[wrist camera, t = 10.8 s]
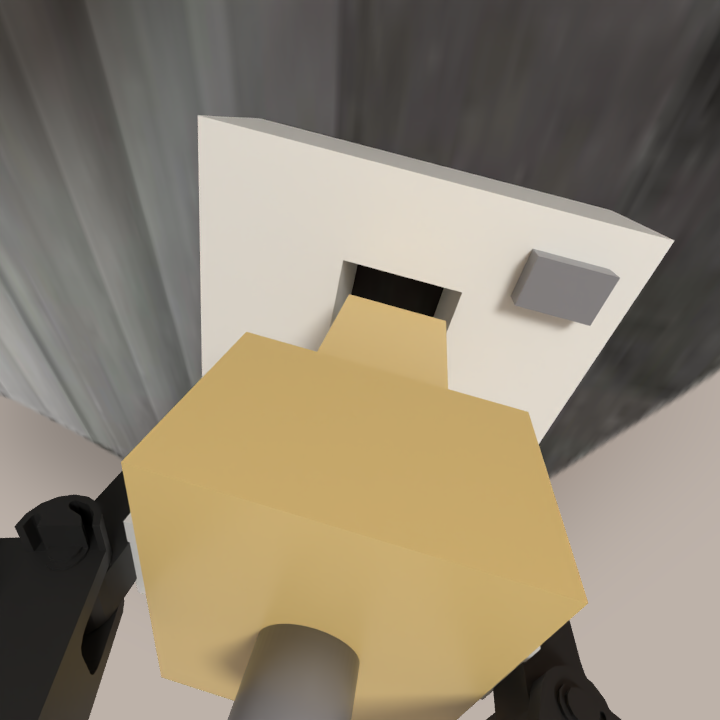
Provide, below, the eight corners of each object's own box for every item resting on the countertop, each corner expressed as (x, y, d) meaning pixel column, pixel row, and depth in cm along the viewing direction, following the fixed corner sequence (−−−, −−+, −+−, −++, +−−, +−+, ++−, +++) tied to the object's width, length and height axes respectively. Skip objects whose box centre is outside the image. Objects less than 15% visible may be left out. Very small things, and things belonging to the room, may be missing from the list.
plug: (298, 407, 19) (101, 795, 8) (325, 249, 14) (-32, 621, 4) (426, 444, 19) (406, 898, 8) (491, 295, 14) (665, 847, 3)
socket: (246, 348, 27) (193, 410, 21) (260, 118, 19) (182, 114, 13) (495, 418, 26) (512, 502, 20) (610, 210, 19) (690, 247, 13)
